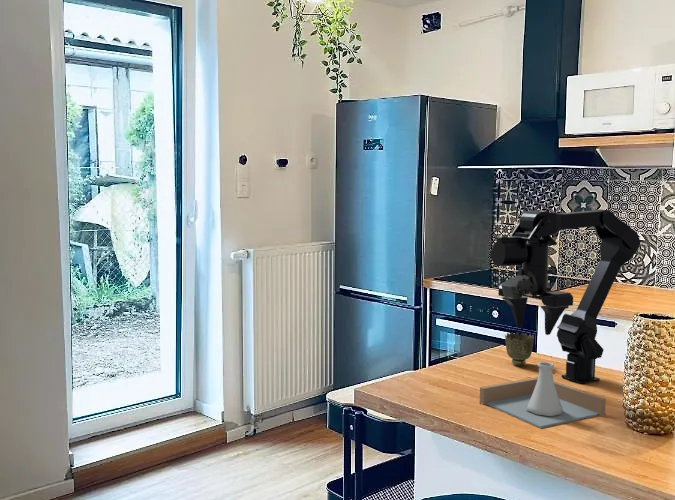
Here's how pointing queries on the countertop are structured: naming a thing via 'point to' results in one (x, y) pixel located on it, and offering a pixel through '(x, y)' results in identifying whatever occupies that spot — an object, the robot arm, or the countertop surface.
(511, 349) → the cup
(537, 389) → the flask
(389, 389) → the countertop surface
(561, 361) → the countertop surface
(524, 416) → the corner arena
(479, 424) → the countertop surface
